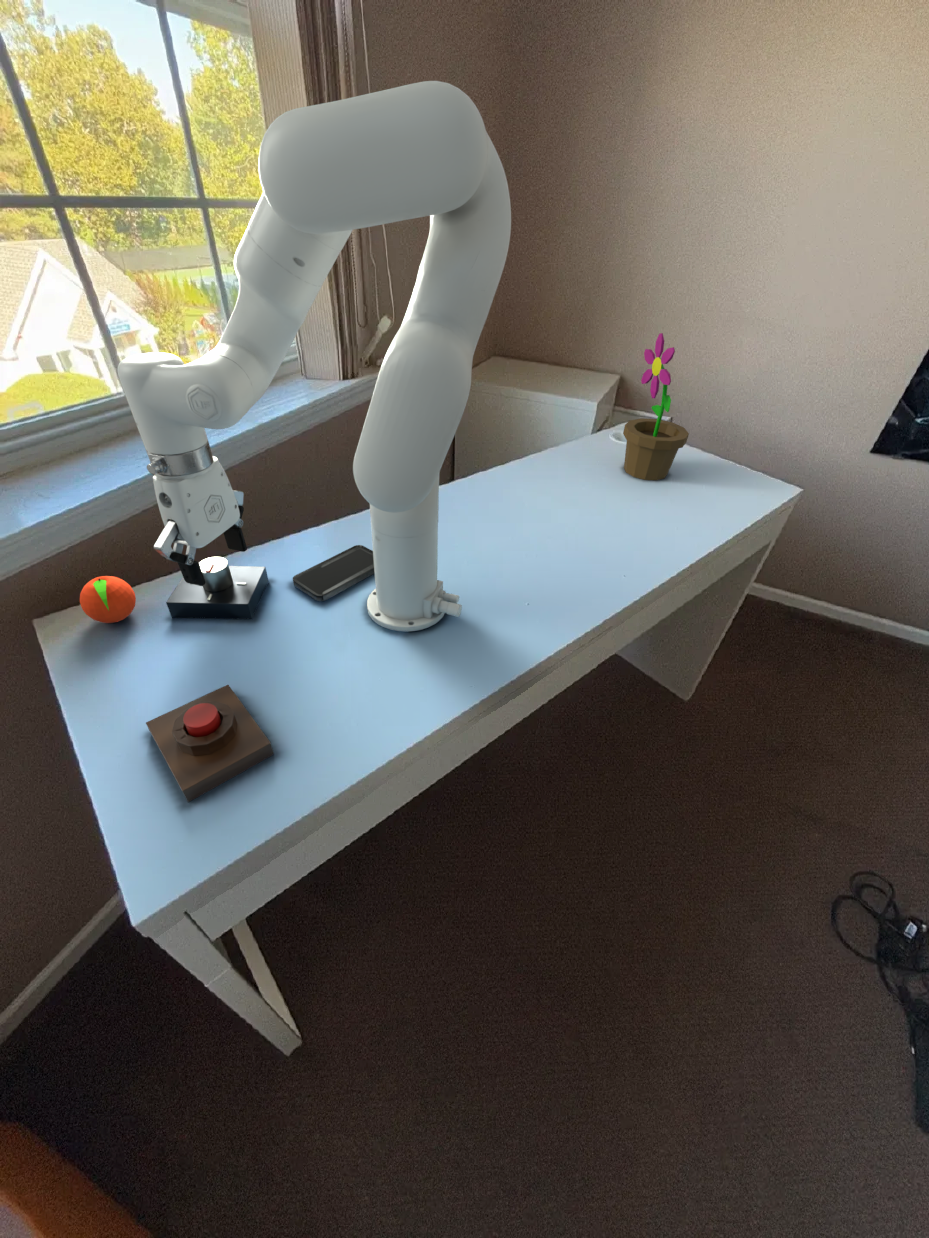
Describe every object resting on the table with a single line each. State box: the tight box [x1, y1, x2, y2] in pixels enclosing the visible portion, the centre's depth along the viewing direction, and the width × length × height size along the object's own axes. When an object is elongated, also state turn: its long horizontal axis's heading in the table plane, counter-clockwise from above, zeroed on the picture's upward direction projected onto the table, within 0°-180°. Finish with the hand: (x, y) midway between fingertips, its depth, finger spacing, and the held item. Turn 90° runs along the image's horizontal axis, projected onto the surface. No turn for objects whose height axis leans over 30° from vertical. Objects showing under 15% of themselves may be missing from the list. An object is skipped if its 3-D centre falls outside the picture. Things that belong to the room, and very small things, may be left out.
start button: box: [183, 703, 221, 737], centre depth 62 cm, size 4×4×2 cm
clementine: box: [79, 575, 137, 624], centre depth 80 cm, size 8×7×7 cm
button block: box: [145, 684, 275, 803], centre depth 64 cm, size 12×10×4 cm
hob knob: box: [198, 556, 233, 592], centre depth 84 cm, size 4×4×4 cm
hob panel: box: [165, 565, 270, 620], centre depth 86 cm, size 12×10×3 cm
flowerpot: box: [622, 332, 690, 481], centre depth 122 cm, size 14×14×30 cm
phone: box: [292, 544, 375, 602], centre depth 93 cm, size 8×1×15 cm
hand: (217, 565), depth 83 cm, fingers open, 9 cm apart
